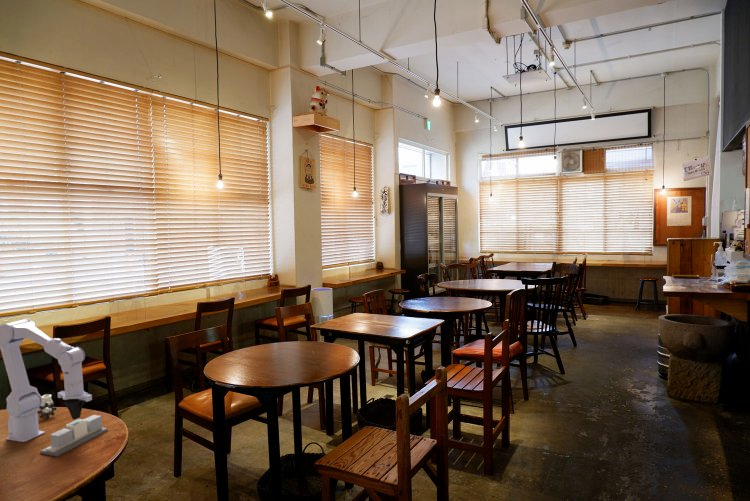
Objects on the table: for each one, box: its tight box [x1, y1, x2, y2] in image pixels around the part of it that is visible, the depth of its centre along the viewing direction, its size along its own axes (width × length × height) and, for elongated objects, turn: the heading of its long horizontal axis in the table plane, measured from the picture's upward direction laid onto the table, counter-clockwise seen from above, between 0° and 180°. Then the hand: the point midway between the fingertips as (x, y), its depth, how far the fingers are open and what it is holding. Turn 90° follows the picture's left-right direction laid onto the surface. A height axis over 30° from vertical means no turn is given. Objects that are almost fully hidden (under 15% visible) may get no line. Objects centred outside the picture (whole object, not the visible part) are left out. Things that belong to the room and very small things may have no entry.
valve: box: [37, 394, 57, 419], centre depth 195 cm, size 7×7×12 cm
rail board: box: [39, 414, 108, 457], centre depth 169 cm, size 8×20×6 cm, turn 161°
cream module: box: [65, 418, 87, 439], centre depth 170 cm, size 4×5×5 cm
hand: (76, 418), depth 170 cm, fingers closed
